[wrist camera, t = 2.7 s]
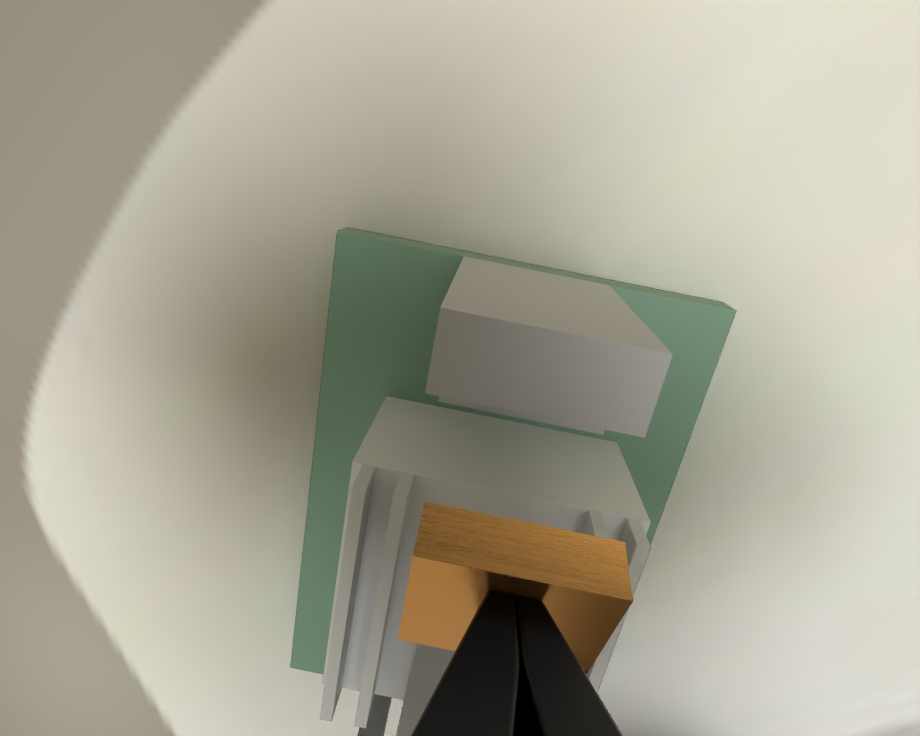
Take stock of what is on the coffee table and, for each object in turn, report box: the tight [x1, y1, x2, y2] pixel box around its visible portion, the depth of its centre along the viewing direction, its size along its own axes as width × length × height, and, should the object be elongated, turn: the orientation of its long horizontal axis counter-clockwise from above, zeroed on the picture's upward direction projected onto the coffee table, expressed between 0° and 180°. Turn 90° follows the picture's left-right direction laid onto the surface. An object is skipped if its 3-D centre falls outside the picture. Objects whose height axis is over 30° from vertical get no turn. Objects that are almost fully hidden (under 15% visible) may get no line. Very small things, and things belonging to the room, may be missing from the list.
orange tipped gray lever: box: [396, 502, 633, 736], centre depth 12 cm, size 12×3×1 cm, turn 170°
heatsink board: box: [290, 228, 736, 736], centre depth 15 cm, size 16×11×7 cm
